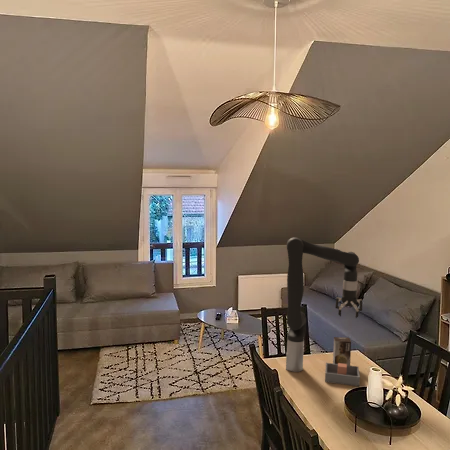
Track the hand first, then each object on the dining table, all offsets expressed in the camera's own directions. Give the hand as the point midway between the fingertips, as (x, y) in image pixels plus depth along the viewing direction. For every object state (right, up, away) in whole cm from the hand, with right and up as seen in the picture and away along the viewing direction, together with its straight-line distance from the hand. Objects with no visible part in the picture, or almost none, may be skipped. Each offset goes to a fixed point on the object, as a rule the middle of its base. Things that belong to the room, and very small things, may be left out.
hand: (348, 316), depth 243 cm
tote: (-5, -33, -5) cm, 33 cm away
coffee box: (-1, -31, +12) cm, 33 cm away
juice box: (-5, -32, -5) cm, 33 cm away
